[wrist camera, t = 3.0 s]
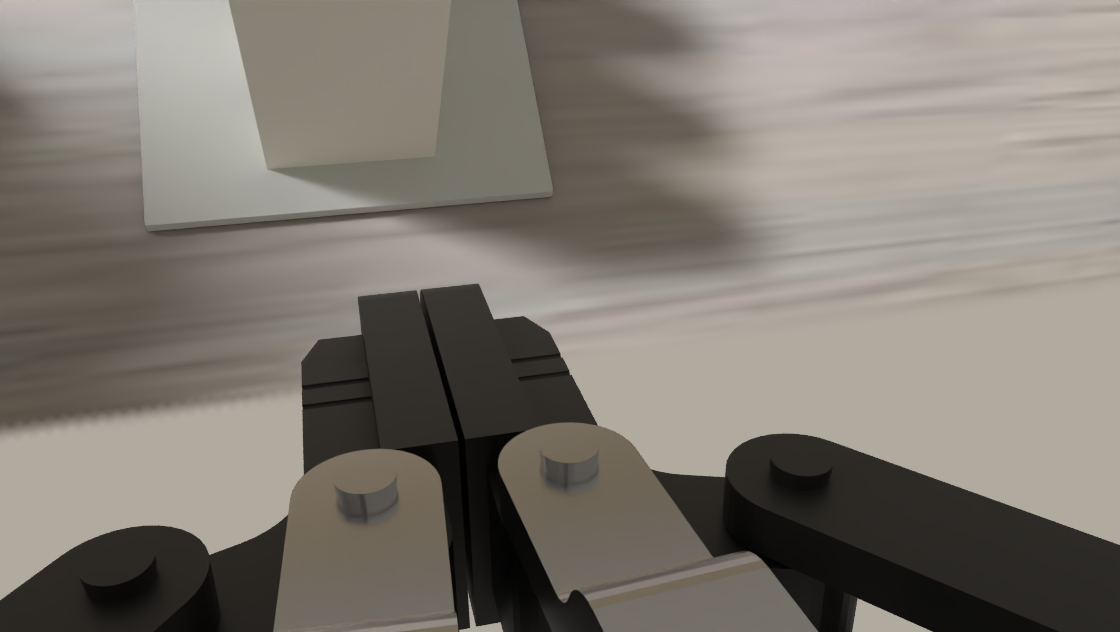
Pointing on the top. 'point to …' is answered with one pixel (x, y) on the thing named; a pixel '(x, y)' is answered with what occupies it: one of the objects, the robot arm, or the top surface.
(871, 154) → the top surface
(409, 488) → the robot arm
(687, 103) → the top surface
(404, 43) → the domino
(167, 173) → the mat
